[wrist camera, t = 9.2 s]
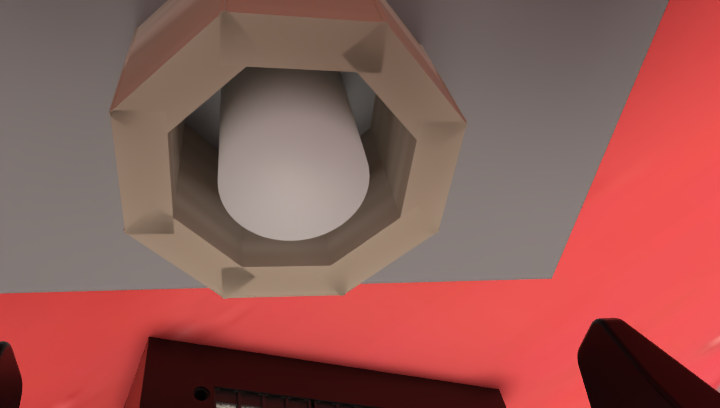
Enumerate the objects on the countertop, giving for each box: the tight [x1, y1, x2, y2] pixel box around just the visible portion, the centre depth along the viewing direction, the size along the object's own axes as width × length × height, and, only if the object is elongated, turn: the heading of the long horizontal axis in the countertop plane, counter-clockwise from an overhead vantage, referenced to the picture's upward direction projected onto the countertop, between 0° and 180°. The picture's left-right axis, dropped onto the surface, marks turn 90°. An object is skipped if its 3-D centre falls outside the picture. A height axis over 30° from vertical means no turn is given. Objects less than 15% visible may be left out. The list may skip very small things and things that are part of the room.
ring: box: [108, 0, 468, 299], centre depth 15 cm, size 7×7×4 cm
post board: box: [0, 0, 669, 293], centre depth 15 cm, size 14×20×6 cm
